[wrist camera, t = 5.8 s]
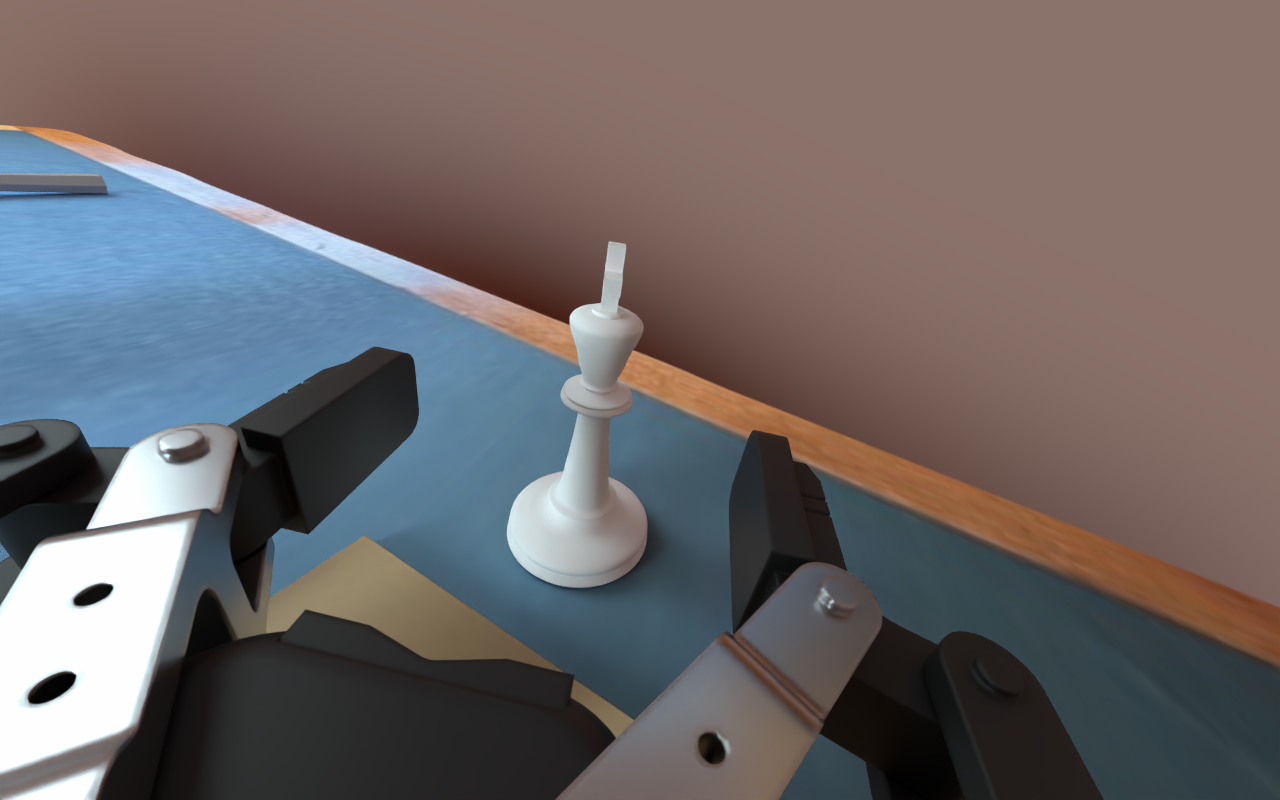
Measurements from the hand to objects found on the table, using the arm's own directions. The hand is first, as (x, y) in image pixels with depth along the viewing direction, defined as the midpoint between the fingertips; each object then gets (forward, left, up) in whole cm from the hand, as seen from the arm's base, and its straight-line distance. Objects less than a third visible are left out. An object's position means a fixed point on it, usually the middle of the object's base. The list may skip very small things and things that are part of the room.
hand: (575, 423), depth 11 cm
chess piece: (-1, +3, -7) cm, 7 cm away
